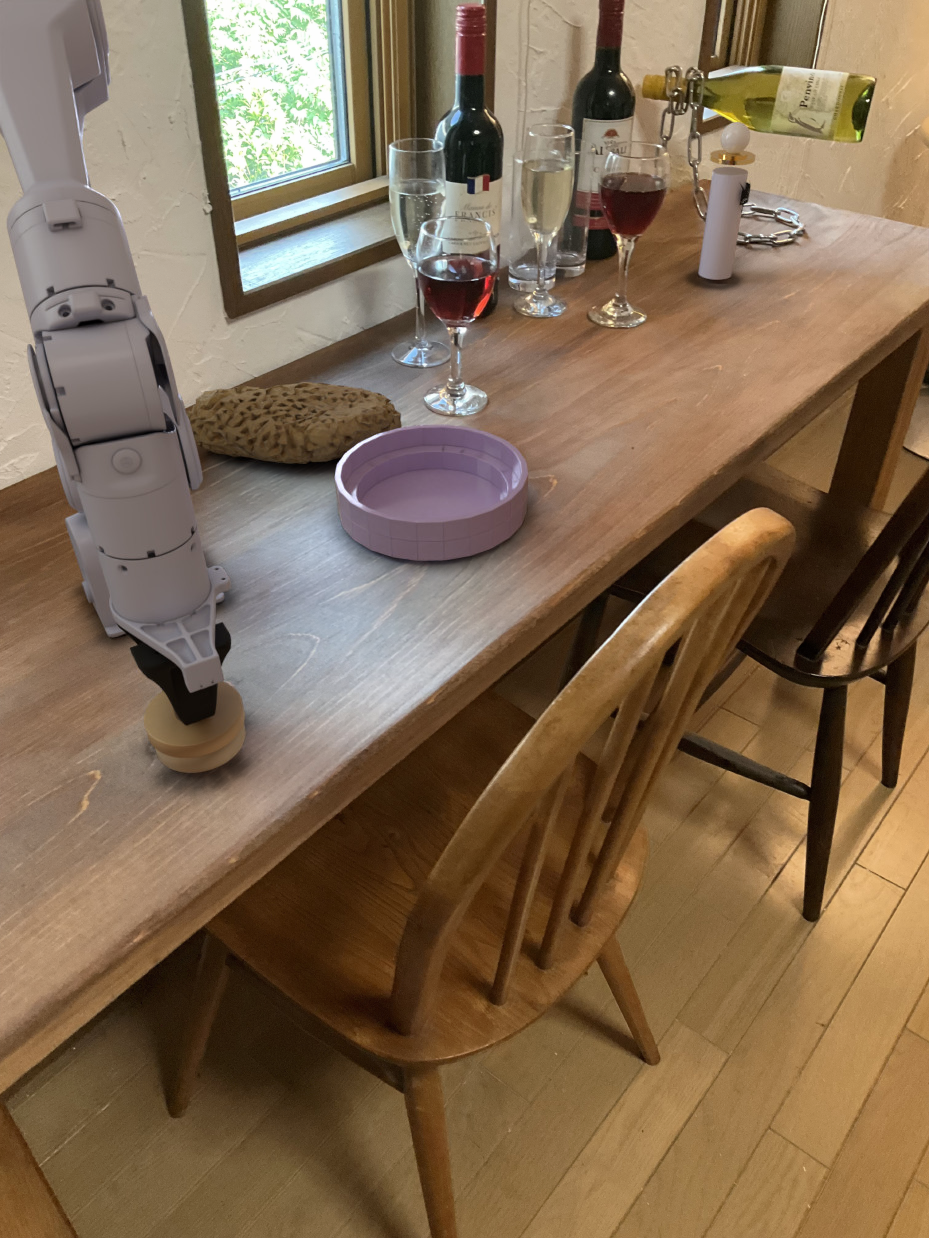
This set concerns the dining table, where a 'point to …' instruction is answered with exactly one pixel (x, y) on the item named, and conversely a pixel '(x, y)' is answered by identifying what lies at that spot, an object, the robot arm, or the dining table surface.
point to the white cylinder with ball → (725, 203)
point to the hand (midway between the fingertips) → (191, 703)
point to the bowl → (431, 492)
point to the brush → (197, 733)
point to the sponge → (290, 421)
